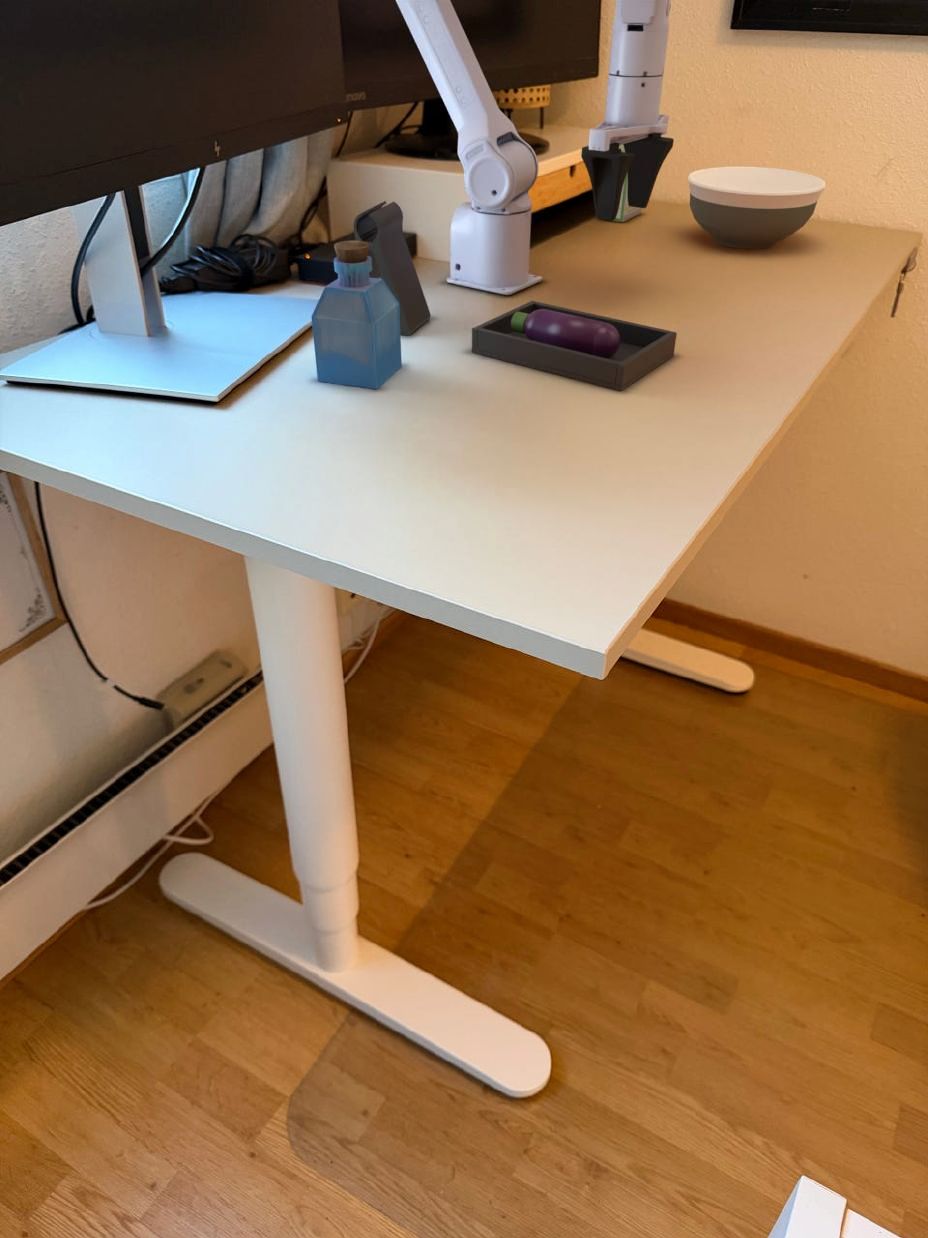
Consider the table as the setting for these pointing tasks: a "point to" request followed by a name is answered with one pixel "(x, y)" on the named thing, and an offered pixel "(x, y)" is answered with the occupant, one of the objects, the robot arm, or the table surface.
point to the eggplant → (568, 332)
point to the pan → (626, 366)
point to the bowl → (752, 203)
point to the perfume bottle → (356, 323)
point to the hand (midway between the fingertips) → (621, 212)
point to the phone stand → (393, 262)
